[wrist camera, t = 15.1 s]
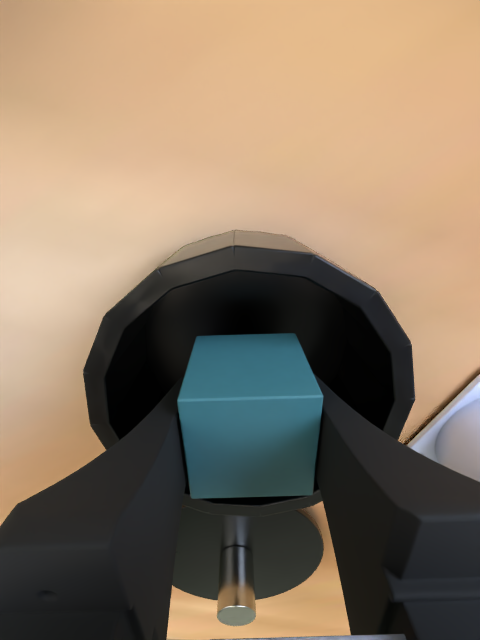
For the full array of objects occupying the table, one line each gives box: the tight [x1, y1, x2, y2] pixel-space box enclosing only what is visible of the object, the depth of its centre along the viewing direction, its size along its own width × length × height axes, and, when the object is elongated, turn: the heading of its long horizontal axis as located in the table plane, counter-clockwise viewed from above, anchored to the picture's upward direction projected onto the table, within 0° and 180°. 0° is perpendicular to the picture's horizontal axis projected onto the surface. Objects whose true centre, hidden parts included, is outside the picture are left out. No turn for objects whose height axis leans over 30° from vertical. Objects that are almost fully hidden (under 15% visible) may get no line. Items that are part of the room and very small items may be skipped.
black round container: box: [83, 230, 415, 517], centre depth 13 cm, size 13×13×5 cm
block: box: [177, 333, 323, 499], centre depth 11 cm, size 4×4×4 cm
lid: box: [172, 505, 324, 626], centre depth 21 cm, size 14×14×5 cm
